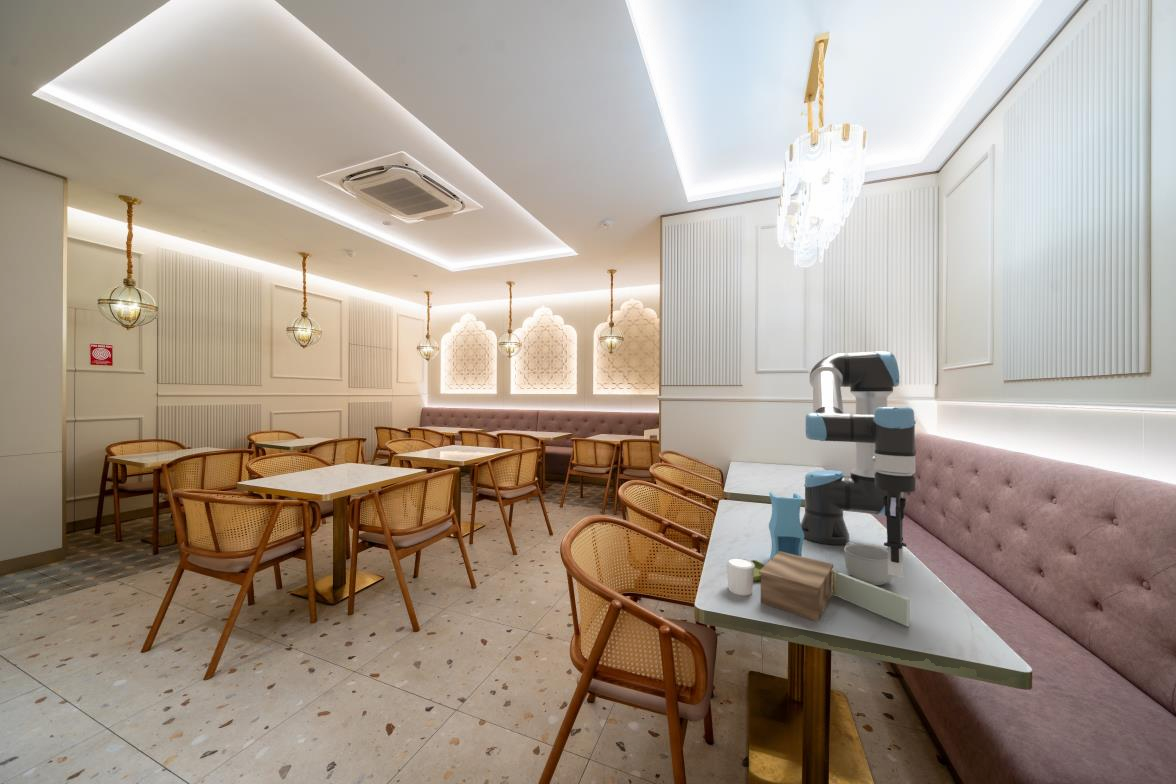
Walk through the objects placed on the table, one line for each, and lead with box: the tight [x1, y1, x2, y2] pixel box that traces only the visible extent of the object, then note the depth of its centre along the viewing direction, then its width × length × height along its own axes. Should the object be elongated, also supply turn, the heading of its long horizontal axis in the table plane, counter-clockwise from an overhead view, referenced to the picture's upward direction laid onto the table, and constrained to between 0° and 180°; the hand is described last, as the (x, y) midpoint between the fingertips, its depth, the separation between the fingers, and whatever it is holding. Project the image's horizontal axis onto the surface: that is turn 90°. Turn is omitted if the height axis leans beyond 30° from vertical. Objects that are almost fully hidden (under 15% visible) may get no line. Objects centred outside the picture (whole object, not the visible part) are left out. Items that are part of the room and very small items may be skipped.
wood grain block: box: [759, 551, 834, 622], centre depth 96 cm, size 17×13×8 cm
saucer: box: [750, 559, 766, 582], centre depth 110 cm, size 9×9×2 cm
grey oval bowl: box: [843, 541, 894, 586], centre depth 108 cm, size 14×11×8 cm
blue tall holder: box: [768, 491, 805, 560], centre depth 117 cm, size 8×8×20 cm
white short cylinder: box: [725, 557, 755, 597], centre depth 100 cm, size 7×7×7 cm
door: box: [832, 570, 911, 627], centre depth 91 cm, size 16×1×6 cm, turn 29°
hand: (895, 574), depth 91 cm, fingers closed
